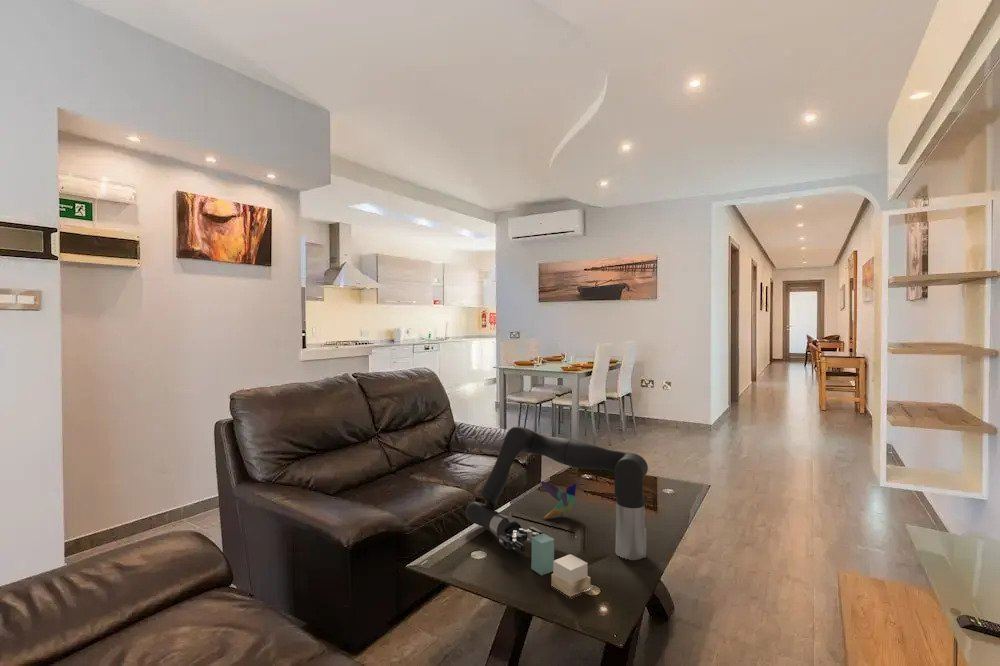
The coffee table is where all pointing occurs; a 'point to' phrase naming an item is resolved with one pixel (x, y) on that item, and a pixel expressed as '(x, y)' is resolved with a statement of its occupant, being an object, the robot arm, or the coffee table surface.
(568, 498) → the decorative sculpture
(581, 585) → the tower base block
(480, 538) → the coffee table surface
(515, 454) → the robot arm
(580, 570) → the tower top block
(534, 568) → the teal block
